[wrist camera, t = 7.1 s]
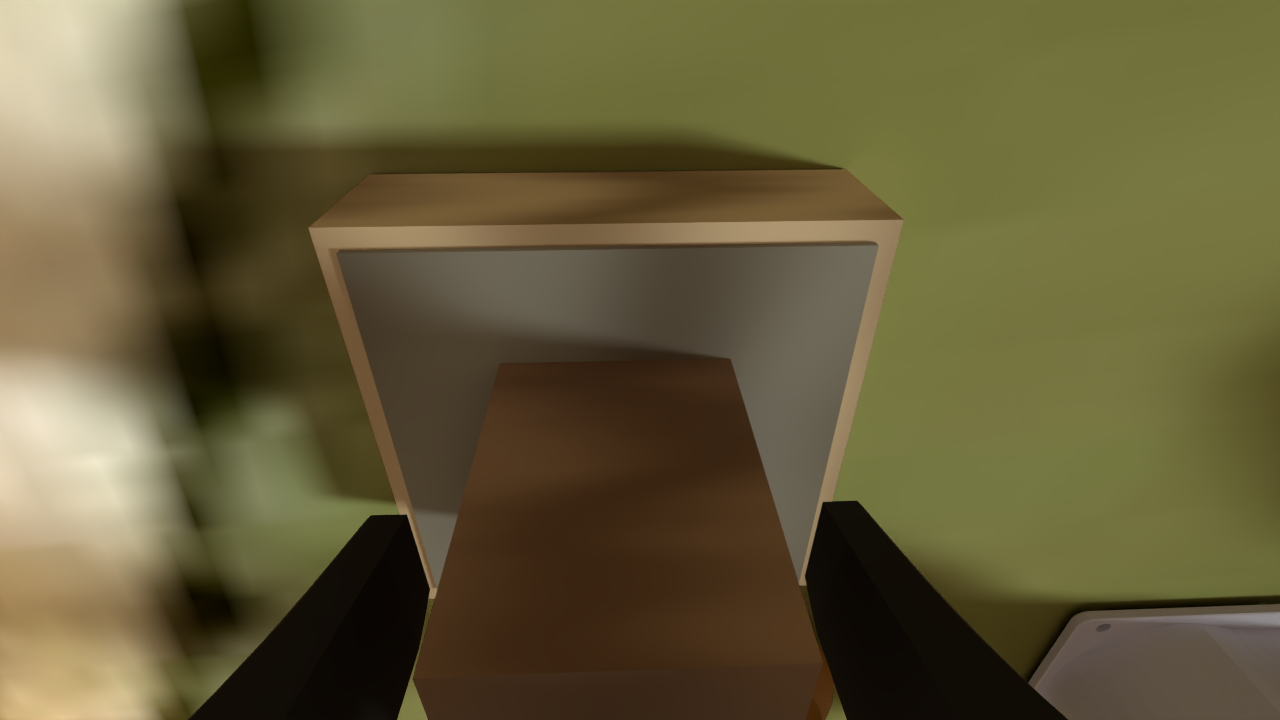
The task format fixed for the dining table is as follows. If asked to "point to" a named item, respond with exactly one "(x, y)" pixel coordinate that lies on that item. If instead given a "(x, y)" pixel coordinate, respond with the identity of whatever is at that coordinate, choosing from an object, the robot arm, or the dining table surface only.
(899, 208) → the dining table surface
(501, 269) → the wooden framed grey panel
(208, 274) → the dining table surface
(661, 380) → the walnut block
